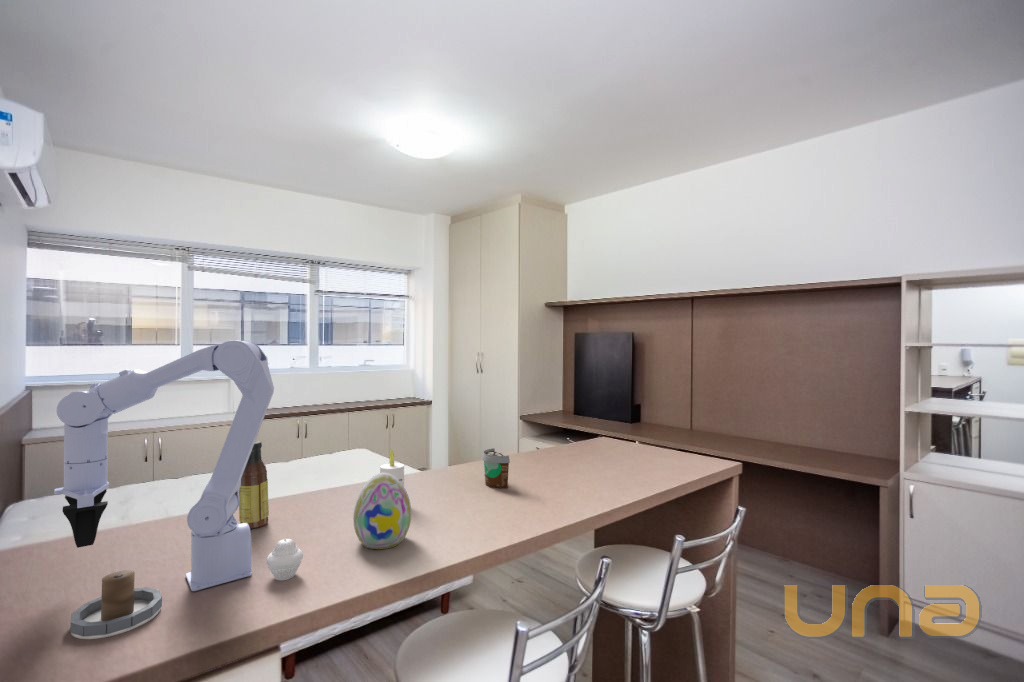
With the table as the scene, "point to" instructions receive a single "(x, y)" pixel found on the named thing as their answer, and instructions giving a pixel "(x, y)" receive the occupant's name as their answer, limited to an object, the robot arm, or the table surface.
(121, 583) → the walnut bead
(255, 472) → the sauce bottle
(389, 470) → the candle
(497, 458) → the food container
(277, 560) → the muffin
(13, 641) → the table surface
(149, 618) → the ring dish
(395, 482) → the decorative egg
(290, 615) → the table surface
